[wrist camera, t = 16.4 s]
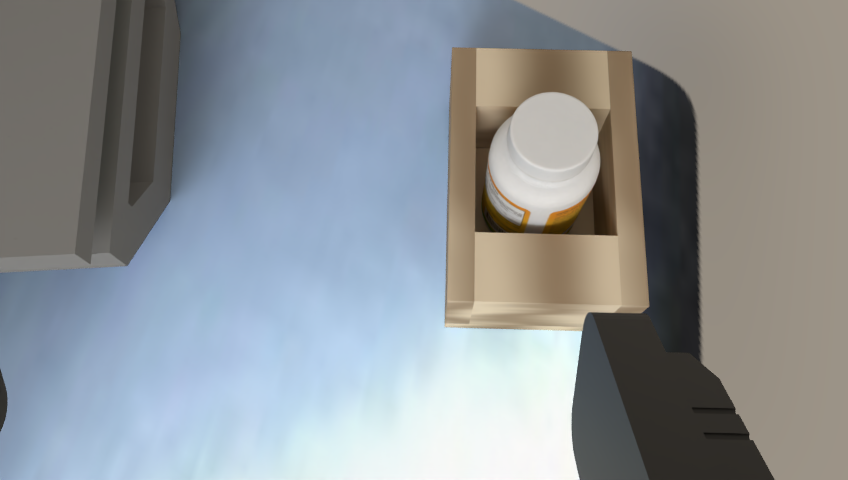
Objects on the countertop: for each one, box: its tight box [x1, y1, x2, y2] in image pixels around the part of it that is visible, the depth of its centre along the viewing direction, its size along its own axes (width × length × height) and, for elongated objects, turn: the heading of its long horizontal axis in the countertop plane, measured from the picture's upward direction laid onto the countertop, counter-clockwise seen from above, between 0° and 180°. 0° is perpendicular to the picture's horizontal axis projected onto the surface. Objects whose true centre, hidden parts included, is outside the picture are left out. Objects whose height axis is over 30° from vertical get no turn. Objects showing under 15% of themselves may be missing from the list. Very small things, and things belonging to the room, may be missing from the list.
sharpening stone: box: [0, 0, 181, 273], centre depth 40 cm, size 25×8×11 cm, turn 3°
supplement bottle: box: [481, 92, 600, 235], centre depth 38 cm, size 5×5×10 cm
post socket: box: [445, 48, 649, 331], centre depth 40 cm, size 10×14×6 cm
